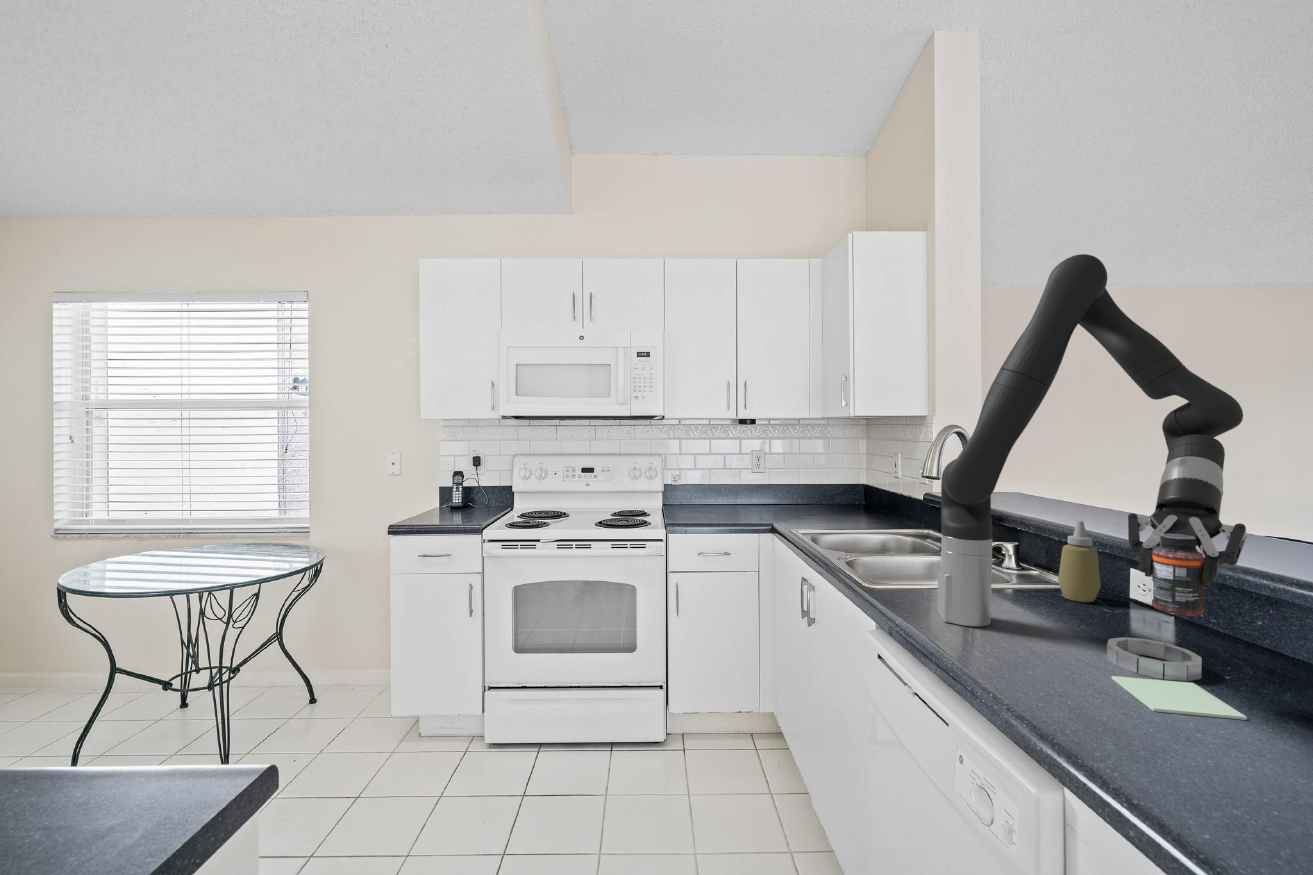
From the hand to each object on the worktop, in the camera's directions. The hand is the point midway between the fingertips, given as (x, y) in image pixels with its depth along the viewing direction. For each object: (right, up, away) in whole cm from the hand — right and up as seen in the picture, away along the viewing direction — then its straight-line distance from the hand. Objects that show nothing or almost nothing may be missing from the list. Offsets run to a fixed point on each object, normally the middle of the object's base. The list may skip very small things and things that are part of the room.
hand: (1176, 577), depth 88 cm
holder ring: (+6, -17, +12) cm, 22 cm away
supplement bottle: (+1, -5, +1) cm, 6 cm away
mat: (0, -18, 0) cm, 18 cm away
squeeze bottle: (+21, -17, +50) cm, 56 cm away
